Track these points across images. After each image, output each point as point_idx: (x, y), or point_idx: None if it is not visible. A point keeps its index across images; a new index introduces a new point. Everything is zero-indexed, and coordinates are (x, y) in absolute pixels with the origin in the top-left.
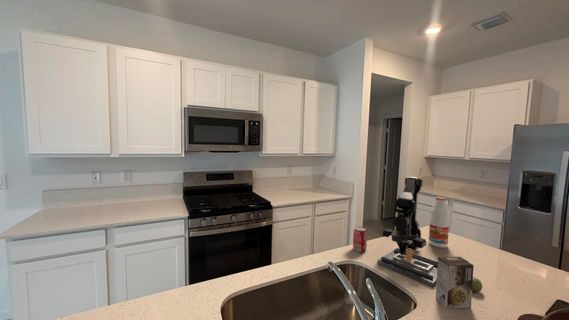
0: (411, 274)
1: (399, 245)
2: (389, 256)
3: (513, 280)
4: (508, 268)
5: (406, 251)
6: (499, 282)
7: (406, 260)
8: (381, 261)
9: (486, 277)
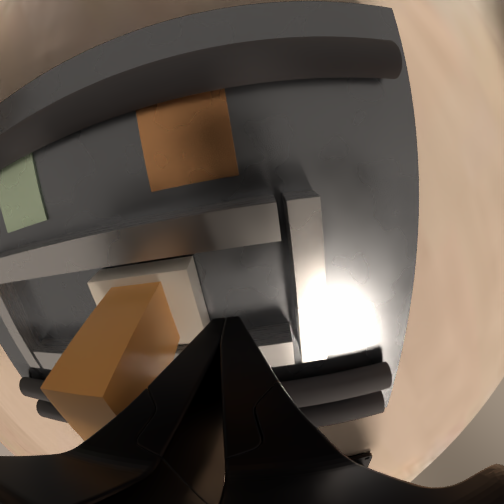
0: (13, 96)
1: (263, 436)
2: (375, 225)
3: (19, 439)
4: None
5: (110, 367)
6: (4, 414)
7: (148, 274)
8: (346, 8)
9: (25, 424)
